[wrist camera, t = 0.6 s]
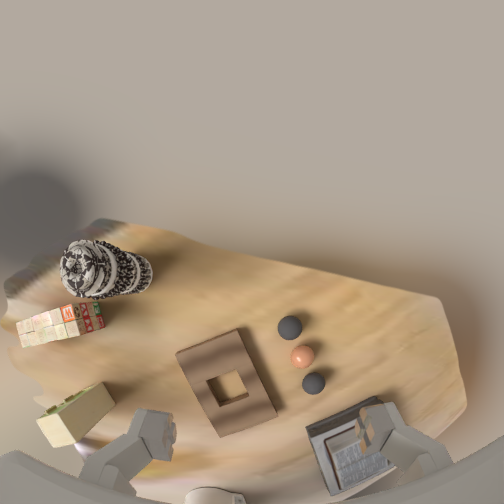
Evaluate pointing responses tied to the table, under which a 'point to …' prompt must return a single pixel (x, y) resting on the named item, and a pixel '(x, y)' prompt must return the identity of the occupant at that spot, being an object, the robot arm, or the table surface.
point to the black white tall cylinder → (103, 270)
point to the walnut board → (220, 362)
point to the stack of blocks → (60, 324)
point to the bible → (344, 450)
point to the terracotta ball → (302, 357)
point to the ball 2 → (313, 383)
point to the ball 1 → (289, 327)
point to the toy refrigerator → (75, 415)
